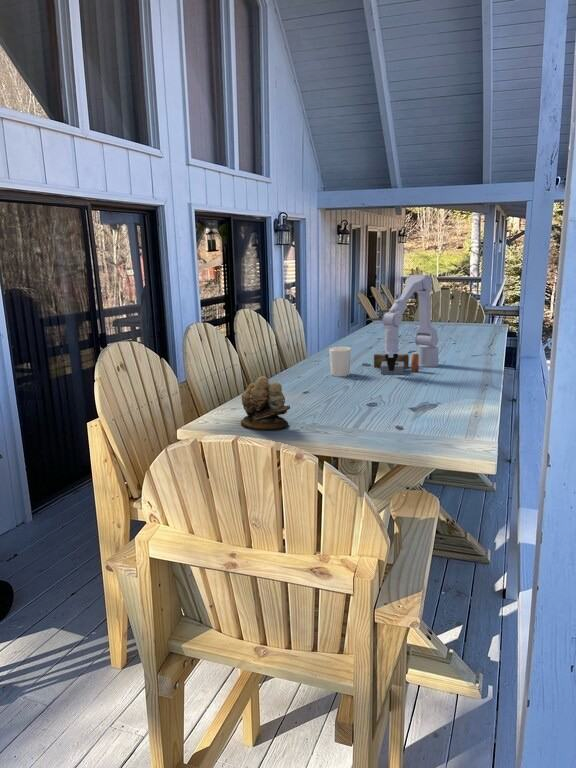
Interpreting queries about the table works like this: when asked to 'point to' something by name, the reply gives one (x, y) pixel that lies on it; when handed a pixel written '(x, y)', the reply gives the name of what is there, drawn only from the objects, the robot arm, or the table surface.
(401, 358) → the walnut wall
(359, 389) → the table surface
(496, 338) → the table surface
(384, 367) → the socket block
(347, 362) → the candle holder
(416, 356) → the dowel
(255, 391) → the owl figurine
